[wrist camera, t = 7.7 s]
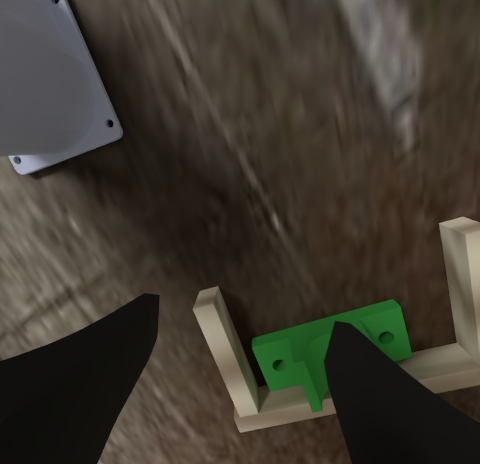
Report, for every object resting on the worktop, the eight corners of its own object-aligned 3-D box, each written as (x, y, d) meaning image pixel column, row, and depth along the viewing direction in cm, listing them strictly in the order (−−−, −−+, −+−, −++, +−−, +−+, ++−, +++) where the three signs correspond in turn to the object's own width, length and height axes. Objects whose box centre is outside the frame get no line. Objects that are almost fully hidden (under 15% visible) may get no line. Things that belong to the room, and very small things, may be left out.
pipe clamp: (421, 328, 17) (435, 385, 18) (393, 297, 21) (405, 346, 22) (250, 374, 19) (272, 423, 20) (251, 338, 23) (270, 381, 24)
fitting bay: (193, 292, 22) (186, 311, 19) (470, 214, 19) (501, 224, 16) (241, 404, 25) (240, 432, 22) (486, 352, 22) (514, 377, 19)
